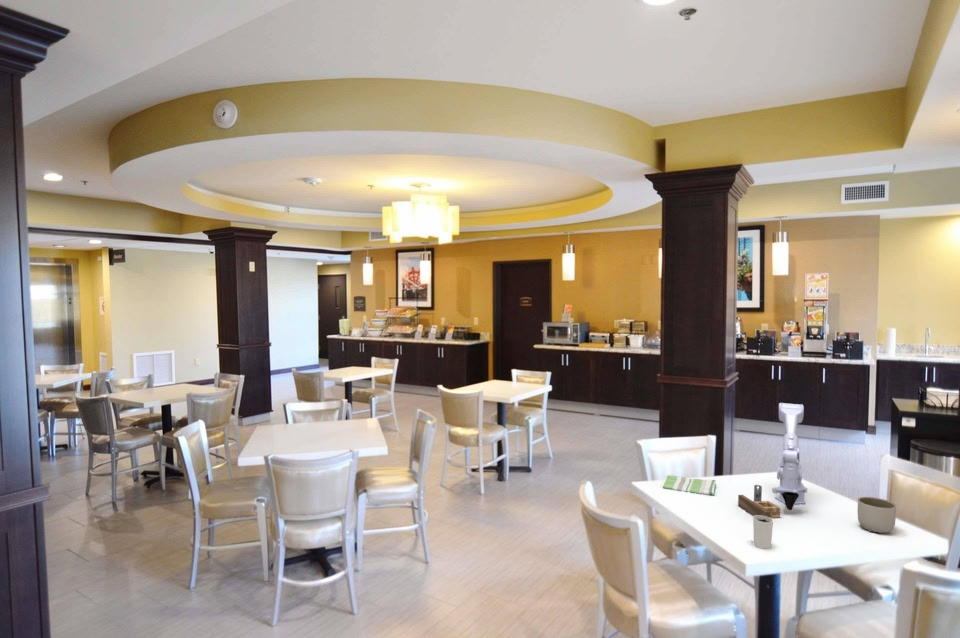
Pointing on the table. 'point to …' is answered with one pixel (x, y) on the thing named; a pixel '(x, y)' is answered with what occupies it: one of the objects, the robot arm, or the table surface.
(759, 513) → the wooden plank
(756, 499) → the dowel
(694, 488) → the dish towel
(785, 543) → the table surface
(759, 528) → the white cup
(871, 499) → the planter
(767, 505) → the block
